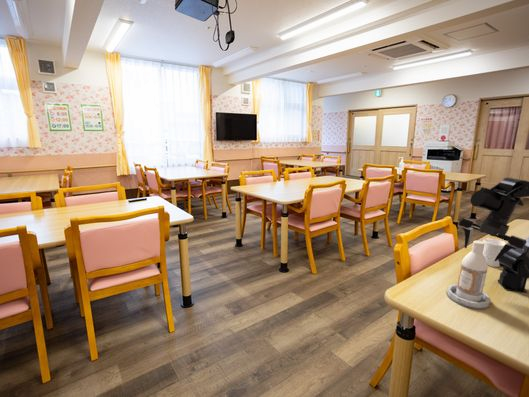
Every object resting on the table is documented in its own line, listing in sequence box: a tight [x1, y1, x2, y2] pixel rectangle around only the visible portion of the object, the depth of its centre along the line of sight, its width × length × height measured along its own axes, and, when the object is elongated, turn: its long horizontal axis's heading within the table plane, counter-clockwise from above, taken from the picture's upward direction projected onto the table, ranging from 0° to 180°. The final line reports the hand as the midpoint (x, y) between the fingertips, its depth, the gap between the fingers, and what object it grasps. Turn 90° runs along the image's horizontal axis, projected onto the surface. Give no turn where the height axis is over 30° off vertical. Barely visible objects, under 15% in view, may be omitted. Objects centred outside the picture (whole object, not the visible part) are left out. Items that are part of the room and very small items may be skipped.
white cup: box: [482, 237, 508, 268], centre depth 122 cm, size 8×8×10 cm
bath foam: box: [456, 240, 489, 302], centre depth 95 cm, size 7×7×20 cm
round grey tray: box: [446, 283, 491, 310], centre depth 97 cm, size 12×12×2 cm
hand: (479, 254), depth 101 cm, fingers open, 9 cm apart
